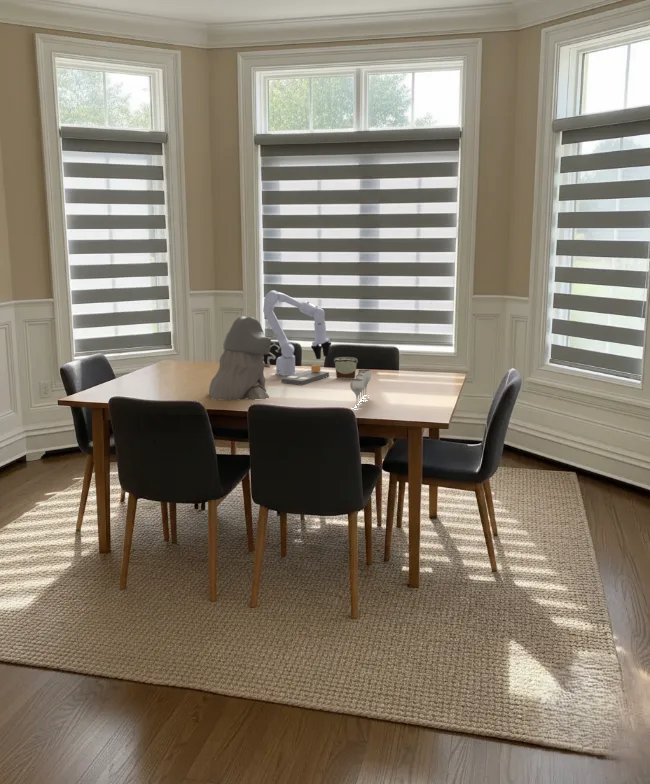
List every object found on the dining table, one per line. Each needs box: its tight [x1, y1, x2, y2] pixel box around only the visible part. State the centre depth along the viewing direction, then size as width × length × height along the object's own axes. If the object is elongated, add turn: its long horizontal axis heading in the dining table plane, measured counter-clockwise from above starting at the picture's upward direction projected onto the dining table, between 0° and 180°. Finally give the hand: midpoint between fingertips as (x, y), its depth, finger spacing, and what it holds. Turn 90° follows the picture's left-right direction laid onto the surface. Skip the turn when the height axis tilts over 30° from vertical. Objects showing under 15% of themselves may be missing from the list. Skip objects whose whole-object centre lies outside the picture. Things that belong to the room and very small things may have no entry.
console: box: [281, 369, 330, 386], centre depth 369 cm, size 12×26×2 cm, turn 150°
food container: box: [333, 356, 359, 379], centre depth 374 cm, size 12×6×10 cm, turn 84°
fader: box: [310, 364, 321, 372], centre depth 377 cm, size 4×2×3 cm, turn 60°
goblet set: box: [349, 368, 372, 410], centre depth 317 cm, size 28×6×13 cm, turn 168°
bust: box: [208, 315, 281, 401], centre depth 333 cm, size 34×34×35 cm
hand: (322, 357), depth 381 cm, fingers open, 7 cm apart
